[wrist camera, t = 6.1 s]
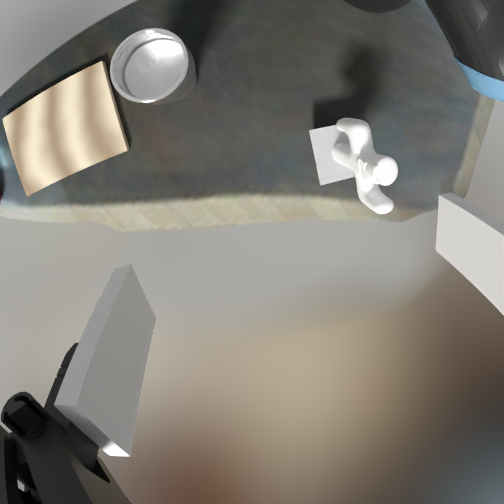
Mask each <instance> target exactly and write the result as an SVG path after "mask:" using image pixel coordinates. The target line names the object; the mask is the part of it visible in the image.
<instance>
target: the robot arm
mask: <svg viewBox="0 0 504 504" xmlns="http://www.w3.org/2000/svg"><path fill="white" fill-rule="evenodd" d="M344 1H346V2H347V3H349V4H351V5H353V6H355V7H357V8H360V9H362V10H365V11H369V12H375V13H386V12H391V11H394V10H396V9H399V8H401V7H403V6H404V5H406V4H407V3H408V2H409V1H410V0H344ZM424 1H425V2H426V4H427V5H428V7H429V8H430V10H431V12H432V13H433V15H434V17H435V18H436V20H437V22H438V24H439V26H440V27H441V29H442V31H443V33H444V35H445V37H446V39H447V41H448V43H449V45H450V47H451V49H452V51H453V54H454V58H455V60H456V61H457V62H458V63H459V64H460V66H461V68H462V70H463V72H464V74H465V77H466V79H467V81H468V82H469V84H470V85H471V86H472V87H473V88H474V89H475V90H477V91H478V92H480V93H481V94H482V95H484V96H487V97H489V98H492V99H495V100H500V101H504V0H424ZM435 250H436V251H437V252H438V253H439V254H441V255H442V256H443V257H444V258H445V259H446V260H448V261H449V262H450V263H451V264H452V265H453V266H454V267H455V268H456V269H457V270H458V271H460V272H461V273H462V274H463V275H464V276H465V277H466V278H467V279H468V280H469V281H470V282H471V283H472V284H473V285H474V286H475V287H477V289H478V290H480V291H481V292H482V293H483V294H484V295H485V296H486V297H487V298H488V299H489V300H490V301H491V302H492V303H493V304H494V306H495V307H496V308H497V309H498V310H499V311H500V312H501V313H502V314H503V315H504V223H502V222H500V221H499V220H497V219H496V218H494V217H492V216H491V215H489V214H488V213H486V212H484V211H483V210H481V209H479V208H478V207H476V206H474V205H472V204H471V203H469V202H467V201H466V200H464V199H462V198H460V197H459V196H457V195H455V194H453V193H446V194H441V195H439V208H438V226H437V238H436V249H435ZM155 320H156V317H155V315H154V313H153V311H152V309H151V307H150V305H149V302H148V300H147V298H146V296H145V294H144V292H143V290H142V288H141V285H140V283H139V281H138V279H137V276H136V274H135V272H134V270H133V267H132V265H128V266H124V267H120V268H116V269H115V270H114V271H113V273H112V275H111V277H110V279H109V281H108V283H107V285H106V287H105V289H104V291H103V293H102V295H101V297H100V299H99V301H98V303H97V305H96V307H95V309H94V311H93V313H92V315H91V317H90V319H89V322H88V324H87V326H86V328H85V330H84V332H83V335H82V337H81V339H80V341H79V343H75V344H74V345H73V346H72V347H71V348H70V350H69V351H68V352H67V353H66V355H65V357H64V360H63V362H62V364H61V368H60V369H59V371H58V373H57V377H56V378H55V381H54V383H53V386H52V388H51V391H50V393H49V396H48V398H47V401H46V404H45V406H44V408H43V407H42V406H41V405H40V404H39V403H38V402H37V401H36V400H35V399H34V397H33V396H32V395H31V394H29V393H27V392H20V393H17V394H15V395H13V396H12V397H11V398H10V399H9V400H8V401H7V403H6V404H5V406H4V407H3V411H2V413H1V422H3V423H4V424H5V425H6V426H7V427H8V428H9V429H10V430H11V431H12V433H8V432H7V431H6V430H5V429H4V428H3V427H2V426H1V425H0V504H131V503H130V501H129V500H128V498H127V497H126V496H125V494H124V493H123V491H122V490H121V489H120V487H119V486H118V484H117V483H116V481H115V480H114V478H113V477H112V475H111V473H110V472H109V470H108V469H107V467H106V466H105V464H104V462H103V461H102V460H101V459H100V458H99V457H98V456H97V454H98V449H99V447H100V448H101V449H102V450H104V452H106V453H107V454H108V455H109V456H131V449H132V441H133V435H134V428H135V422H136V415H137V409H138V404H139V398H140V392H141V387H142V382H143V377H144V371H145V366H146V361H147V356H148V352H149V347H150V343H151V338H152V333H153V329H154V324H155ZM17 480H18V481H19V482H21V483H22V484H24V487H25V490H24V491H22V490H20V489H19V488H18V483H17Z"/></svg>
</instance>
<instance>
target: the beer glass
mask: <svg viewBox="0 0 504 504" xmlns="http://www.w3.org/2000/svg"><path fill="white" fill-rule="evenodd" d="M110 76H111V81H112V83H113V85H114V87H115V89H116V90H117V91H118V92H119V93H120V94H121V95H122V96H123V97H125V98H126V99H128V100H131V101H134V102H138V103H141V104H145V105H163V104H167V103H172V102H178V101H181V100H183V99H185V98H186V97H188V96H189V95H190V94H191V93H192V92H193V90H194V88H195V86H196V83H197V74H196V70H195V62H194V58H193V55H192V53H191V51H190V50H189V48H188V47H187V45H186V44H185V43H184V42H183V41H182V40H181V39H180V38H179V37H178V36H177V35H175V34H174V33H172V32H170V31H168V30H164V29H159V28H151V29H145V30H141V31H138V32H136V33H134V34H132V35H131V36H129V37H128V38H126V39H125V40H124V41H123V42H122V43H121V44H120V45H119V47H118V48H117V49H116V51H115V53H114V55H113V57H112V60H111V65H110Z"/></svg>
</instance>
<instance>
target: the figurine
mask: <svg viewBox="0 0 504 504" xmlns="http://www.w3.org/2000/svg"><path fill="white" fill-rule="evenodd" d="M309 133H310V138H311V142H312V147H313V151H314V156H315V161H316V165H317V170H318V175H319V180H320V185H324V184H328V183H332V182H336V181H340V180H343V179H347V178H352V177H356V184H357V191H358V196H359V198H360V200H361V201H362V202H363V203H364V204H365V205H367V206H368V207H369V208H371V209H372V210H373V211H375V212H376V213H379V214H386V213H388V212H390V211H391V210H392V209H393V201H392V200H391V199H390V198H388V197H387V196H385V195H384V194H383V193H382V192H381V190H380V188H379V186H378V184H381V185H384V186H386V185H390V184H392V183H393V182H394V180H395V179H396V177H397V173H398V168H397V164H396V162H395V161H394V160H393V159H392V158H390V157H387V156H384V155H380V154H377V153H376V152H375V151H374V148H373V142H372V136H371V130H370V127H369V125H368V123H367V122H365V121H363V120H360V119H355V118H342V119H340V120H338V121H337V123H336V125H333V126H328V127H323V128H318V129H313V130H309Z"/></svg>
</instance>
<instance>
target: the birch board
mask: <svg viewBox="0 0 504 504" xmlns="http://www.w3.org/2000/svg"><path fill="white" fill-rule="evenodd" d="M3 123H4V127H5V131H6V135H7V138H8V142H9V145H10V148H11V152H12V155H13V158H14V161H15V164H16V167H17V170H18V173H19V176H20V179H21V182H22V184H23V187H24V190H25V192H26V195H27V196H29V195H31V194H33V193H34V192H36V191H38V190H40V189H42V188H44V187H46V186H48V185H50V184H52V183H54V182H56V181H58V180H60V179H62V178H65V177H67V176H69V175H71V174H73V173H75V172H78V171H80V170H82V169H84V168H87V167H89V166H91V165H93V164H96V163H98V162H101V161H103V160H105V159H108V158H110V157H113V156H115V155H118V154H120V153H123V152H125V151H128V150H130V148H129V145H128V142H127V138H126V135H125V132H124V129H123V125H122V122H121V119H120V115H119V112H118V109H117V105H116V102H115V98H114V95H113V91H112V87H111V84H110V80H109V76H108V72H107V68H106V64H105V62H103V61H101V62H98V63H96V64H94V65H92V66H90V67H88V68H86V69H84V70H82V71H80V72H78V73H76V74H74V75H72V76H70V77H68V78H67V79H65V80H63V81H61V82H59V83H58V84H56V85H54V86H52V87H51V88H49V89H47V90H45V91H44V92H42V93H40V94H39V95H37V96H36V97H34V98H32V99H31V100H29V101H28V102H26V103H25V104H23V105H22V106H20V107H19V108H17V109H16V110H14V111H13V112H12V113H10V114H9V115H7V116H6V117H4V118H3Z"/></svg>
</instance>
